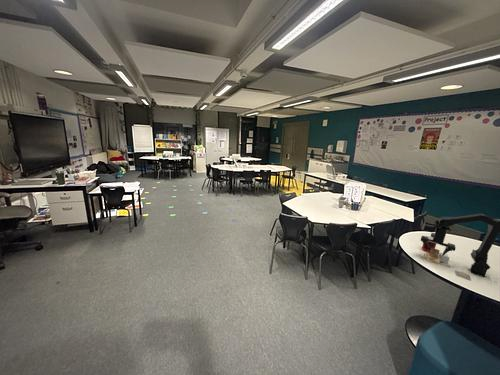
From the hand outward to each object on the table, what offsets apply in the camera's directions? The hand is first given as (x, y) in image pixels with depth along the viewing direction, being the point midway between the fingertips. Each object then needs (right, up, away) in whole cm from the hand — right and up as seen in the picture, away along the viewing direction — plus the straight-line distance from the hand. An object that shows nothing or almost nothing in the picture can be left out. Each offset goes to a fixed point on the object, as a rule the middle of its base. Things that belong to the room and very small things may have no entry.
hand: (434, 253), depth 150 cm
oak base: (0, -6, +2) cm, 6 cm away
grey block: (+7, -6, +1) cm, 10 cm away
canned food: (+8, -3, +15) cm, 17 cm away
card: (+6, -10, -15) cm, 19 cm away
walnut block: (0, -2, 0) cm, 2 cm away
